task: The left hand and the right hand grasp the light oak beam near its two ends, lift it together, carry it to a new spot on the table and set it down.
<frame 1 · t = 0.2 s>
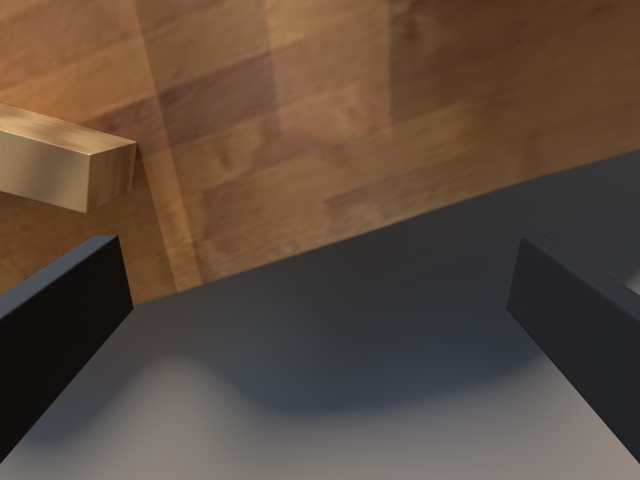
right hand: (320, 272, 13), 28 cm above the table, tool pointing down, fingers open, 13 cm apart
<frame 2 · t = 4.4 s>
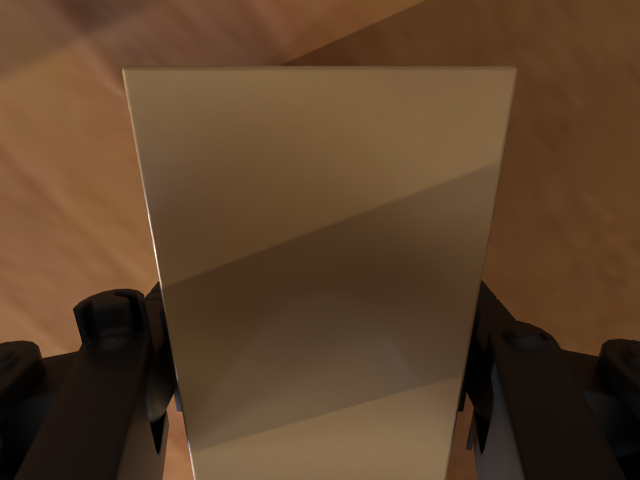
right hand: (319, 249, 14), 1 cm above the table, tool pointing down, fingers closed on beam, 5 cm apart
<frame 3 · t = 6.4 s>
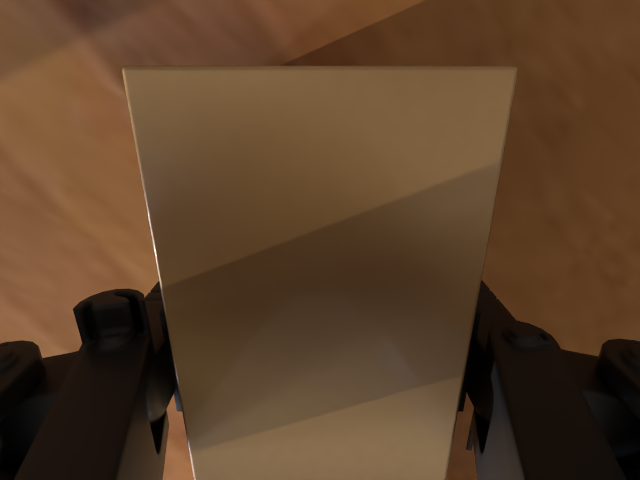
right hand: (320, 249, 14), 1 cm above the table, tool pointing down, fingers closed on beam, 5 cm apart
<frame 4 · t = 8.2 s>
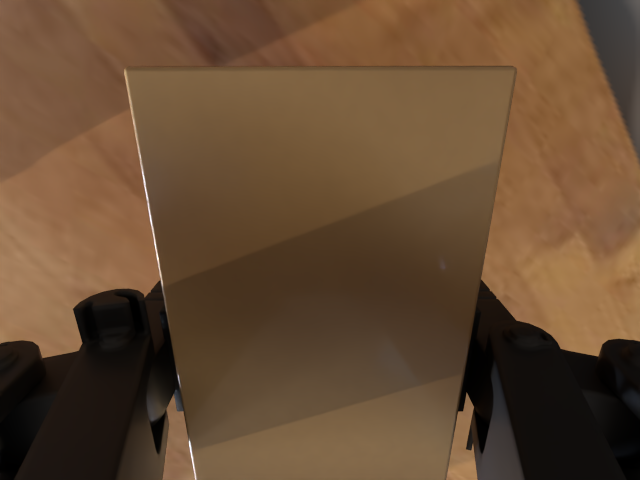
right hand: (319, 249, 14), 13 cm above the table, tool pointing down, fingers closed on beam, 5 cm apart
when the left hand's fingers open (2 cm above the table, at t = 12.0 s): beam drops 2 cm, on the table.
when the right hand's fingers open (2 cm above the table, at t = 12.0 s): beam drops 2 cm, on the table.
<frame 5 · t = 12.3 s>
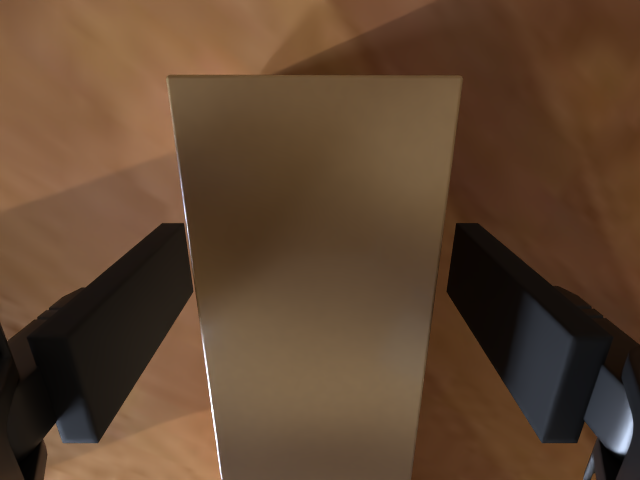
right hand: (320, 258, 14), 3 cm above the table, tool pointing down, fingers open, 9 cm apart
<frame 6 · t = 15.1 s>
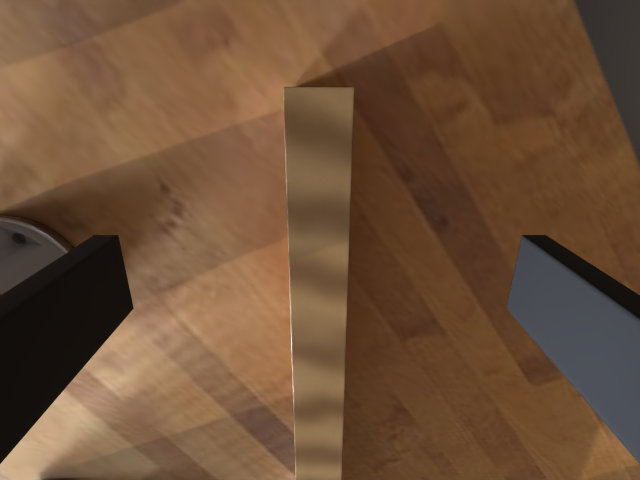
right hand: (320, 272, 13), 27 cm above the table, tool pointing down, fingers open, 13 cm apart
beam: (318, 390, 49), on the table
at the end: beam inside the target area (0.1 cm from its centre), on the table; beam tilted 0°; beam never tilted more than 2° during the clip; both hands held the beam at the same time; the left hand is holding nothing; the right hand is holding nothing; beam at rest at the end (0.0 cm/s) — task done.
